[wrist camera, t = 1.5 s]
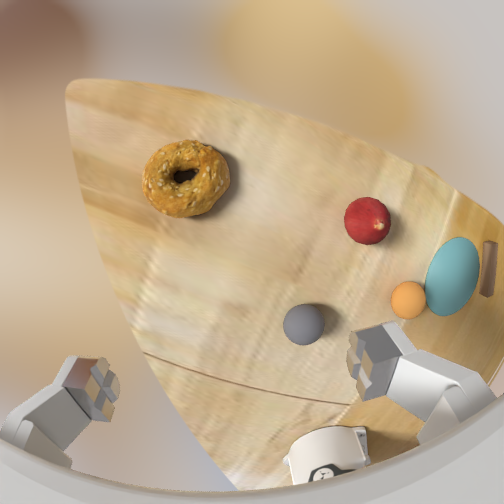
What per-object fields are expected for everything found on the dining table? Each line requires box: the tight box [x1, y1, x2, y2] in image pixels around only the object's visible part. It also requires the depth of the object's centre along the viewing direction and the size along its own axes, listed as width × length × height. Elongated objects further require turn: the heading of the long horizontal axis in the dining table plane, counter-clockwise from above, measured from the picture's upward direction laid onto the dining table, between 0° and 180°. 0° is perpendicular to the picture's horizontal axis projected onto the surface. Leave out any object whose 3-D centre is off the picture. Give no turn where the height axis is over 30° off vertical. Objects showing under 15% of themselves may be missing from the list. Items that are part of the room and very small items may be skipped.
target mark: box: [425, 237, 480, 316], centre depth 36 cm, size 14×14×1 cm
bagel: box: [142, 140, 230, 218], centre depth 31 cm, size 10×11×5 cm
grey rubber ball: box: [283, 304, 325, 345], centre depth 35 cm, size 6×6×6 cm
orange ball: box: [391, 282, 426, 319], centre depth 34 cm, size 6×6×6 cm
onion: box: [344, 197, 391, 245], centre depth 31 cm, size 6×6×8 cm
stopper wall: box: [479, 241, 498, 298], centre depth 35 cm, size 2×10×2 cm, turn 10°
